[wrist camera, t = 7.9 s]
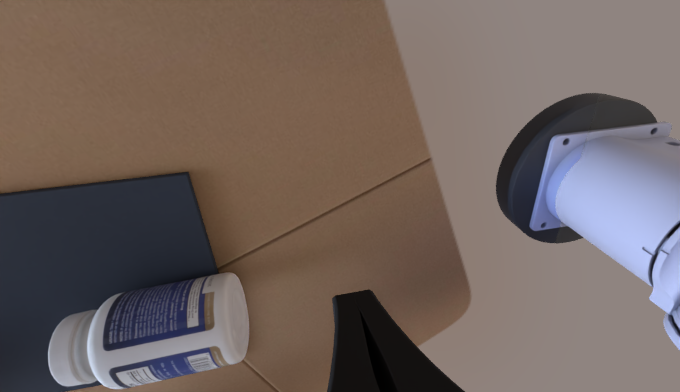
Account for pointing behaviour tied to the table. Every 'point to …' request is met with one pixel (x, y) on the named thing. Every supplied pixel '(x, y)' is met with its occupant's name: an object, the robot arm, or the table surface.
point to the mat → (88, 259)
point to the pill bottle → (153, 334)
